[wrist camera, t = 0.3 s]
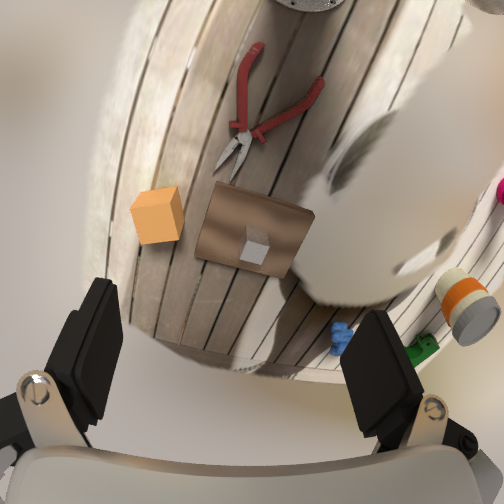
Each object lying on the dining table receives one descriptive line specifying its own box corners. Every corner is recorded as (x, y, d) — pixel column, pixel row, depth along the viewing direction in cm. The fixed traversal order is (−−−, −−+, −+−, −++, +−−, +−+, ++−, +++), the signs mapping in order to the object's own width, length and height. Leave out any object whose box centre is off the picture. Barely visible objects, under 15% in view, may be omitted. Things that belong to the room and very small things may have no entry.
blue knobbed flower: (310, 321, 63) (321, 366, 53) (336, 304, 61) (352, 349, 51) (335, 343, 68) (347, 384, 58) (359, 329, 66) (374, 370, 56)
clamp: (415, 321, 73) (433, 332, 64) (425, 331, 74) (443, 342, 65) (389, 356, 74) (405, 370, 65) (400, 364, 75) (416, 378, 66)
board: (216, 181, 44) (213, 198, 39) (312, 211, 48) (322, 231, 43) (195, 249, 51) (190, 273, 46) (281, 272, 55) (286, 296, 49)
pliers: (187, 158, 42) (184, 163, 40) (255, 39, 33) (256, 37, 31) (254, 190, 46) (255, 197, 44) (325, 80, 37) (330, 81, 35)
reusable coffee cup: (471, 283, 61) (501, 324, 48) (433, 309, 65) (459, 354, 52) (466, 251, 55) (502, 294, 42) (423, 281, 59) (454, 330, 46)
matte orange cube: (141, 191, 44) (129, 208, 40) (177, 185, 44) (169, 202, 39) (150, 224, 48) (141, 244, 43) (184, 220, 48) (179, 239, 43)
